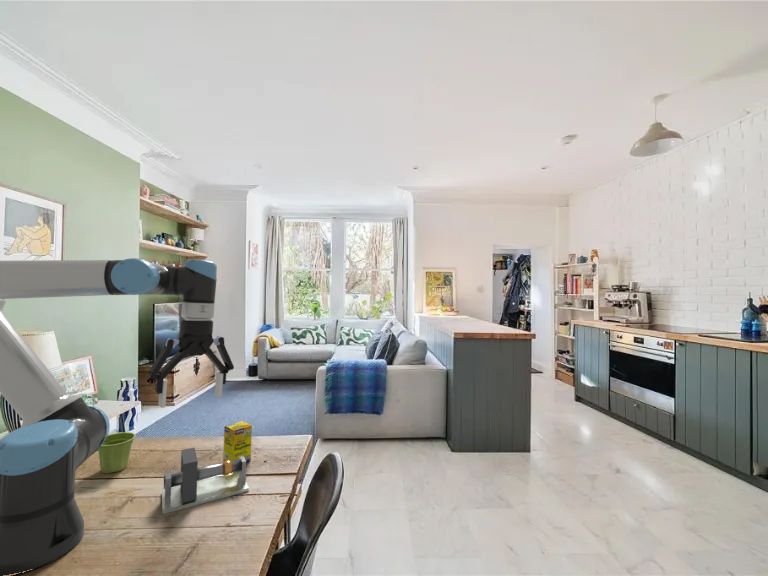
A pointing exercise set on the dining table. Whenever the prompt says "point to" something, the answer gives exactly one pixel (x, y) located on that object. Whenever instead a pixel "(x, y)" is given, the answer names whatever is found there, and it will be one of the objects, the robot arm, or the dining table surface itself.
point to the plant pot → (115, 452)
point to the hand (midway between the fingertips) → (191, 401)
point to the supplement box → (237, 441)
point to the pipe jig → (206, 484)
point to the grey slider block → (189, 475)
